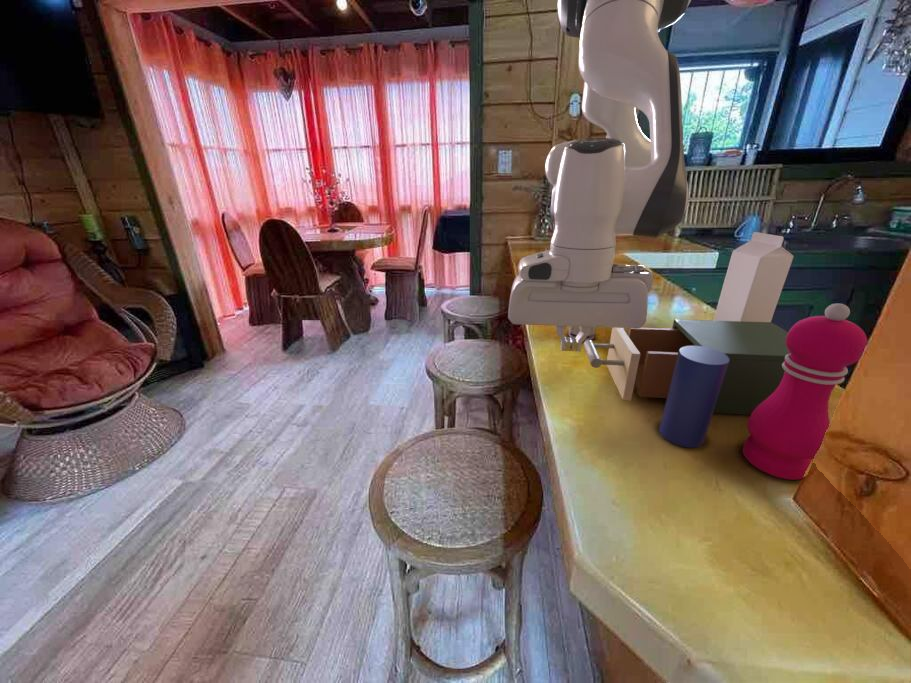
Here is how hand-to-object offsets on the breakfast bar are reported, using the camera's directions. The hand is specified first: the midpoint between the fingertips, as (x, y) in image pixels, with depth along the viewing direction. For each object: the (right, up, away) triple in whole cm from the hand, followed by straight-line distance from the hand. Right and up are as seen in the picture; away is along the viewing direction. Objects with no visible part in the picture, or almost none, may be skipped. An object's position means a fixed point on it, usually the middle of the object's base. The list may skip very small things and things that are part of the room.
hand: (569, 349), depth 60 cm
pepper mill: (+20, -13, -15) cm, 28 cm away
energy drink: (+8, +2, +20) cm, 22 cm away
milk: (+34, -1, +12) cm, 36 cm away
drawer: (+12, -5, +1) cm, 13 cm away
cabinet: (+24, -7, -1) cm, 25 cm away
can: (+12, -11, -10) cm, 19 cm away
